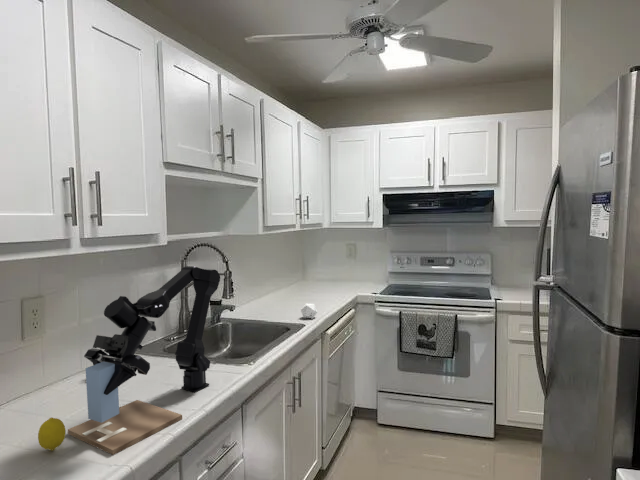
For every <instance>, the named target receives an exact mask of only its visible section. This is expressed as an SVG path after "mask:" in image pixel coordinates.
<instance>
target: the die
mask: <svg viewBox="0 0 640 480" xmlns="http://www.w3.org/2000/svg"><path fill="white" fill-rule="evenodd" d="M300 312H301V314H302V317H303V319H306V318H311V319H310V320H314V318H315V316H316V315H317V313H318V310H317V308H316V305H315V303H305V304H304V305H303V306H302V307H301V309H300Z"/></svg>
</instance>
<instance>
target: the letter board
mask: <svg viewBox="0 0 640 480" xmlns="http://www.w3.org/2000/svg"><path fill="white" fill-rule="evenodd" d="M181 420H183V414H181V413H178V412H175V411H172V410H169V409H166V408H162V407H160V406H157V405H155V404H152V403H151V404H150V403H147V402H145V401H143V400H140V399H139V400H138V399H136V400H134V401H132V402H129V403H127V404H124V405H122V406H119V414H118V415H116V416H114V417H112V418H110V419H108V420H106V421H104V422H102V423H101V422H98V421H94V420H91V419H88V420H86V421H84V422H82V423H79V424H77V425H74V426H72V427H69V428H68V429H67V434H68V435H69V436H72V437H74V438H76V439H78V440H80V441H82V442H84V443H86V444H89V445H91V446H93V447H95V448H97V449H99V450H101V451H103V452H106V453H108V454H109V455H112V456H114V455H116V454H118V453H120V452H122V451H124V450H126V449H128V448H130V447H131V446H134V445H135V444H138V443H139V442H141V441H143V440H145V439H147V438H149V437H151V436H152V435H154V434H156V433H158V432H160V431H162V430H164V429H166V428H168V427H170V426H171V425H174V424H176V423H178V422H180V421H181Z"/></svg>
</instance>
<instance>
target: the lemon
mask: <svg viewBox="0 0 640 480" xmlns="http://www.w3.org/2000/svg"><path fill="white" fill-rule="evenodd" d="M65 438H66V427H65V423H64V422H63V420H61V419H60V418H56V417H49V418H48V419H47V420H45V421H44V422H43V423H42V424H41V425H40V427H39V430H38V433H37V440H38V443H39V445H40V447H41V448H42V449H44V450H50V451H51V452H53V451H55V450H56V449H57V448H58V447H59V446H61V445H62V443H63V442H64V440H65Z"/></svg>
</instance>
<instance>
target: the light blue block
mask: <svg viewBox="0 0 640 480" xmlns="http://www.w3.org/2000/svg"><path fill="white" fill-rule="evenodd" d="M114 372H115V364H113V363H108V362H101V363H98V364H96V365H93V364H92V365H90V366H86V368H85V381H86V385H85V386H86V399H87V400H86V402H87V417H88V418H87V419H88V420H94V421H98V422H101V423H102V422H104V421H106V420H108V419H110V418H112V417H114V416H116V415H118V414H119V407H120V402H119V401H120V399H119V387H117V388H116V389H115V390H113V391H112V392H111V393H109V394H108V395H105V394H104V391H105V389H106V386H107V385H108V383H109V381H110V379H111V377H112V375H113V374H114Z"/></svg>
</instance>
